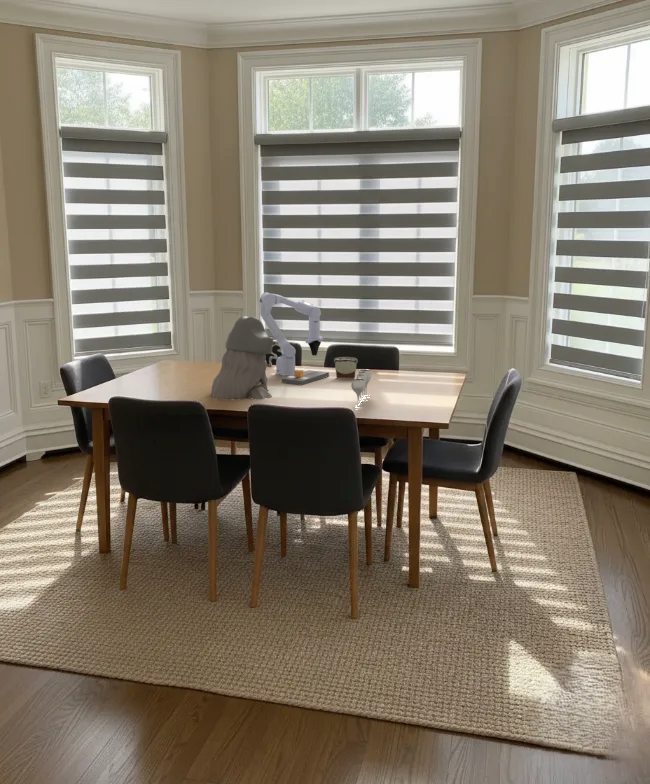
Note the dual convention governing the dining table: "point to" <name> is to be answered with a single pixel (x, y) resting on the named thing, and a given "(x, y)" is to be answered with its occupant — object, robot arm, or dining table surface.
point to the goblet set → (361, 383)
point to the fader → (298, 373)
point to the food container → (345, 367)
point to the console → (305, 377)
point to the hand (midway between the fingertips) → (314, 355)
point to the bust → (245, 362)
